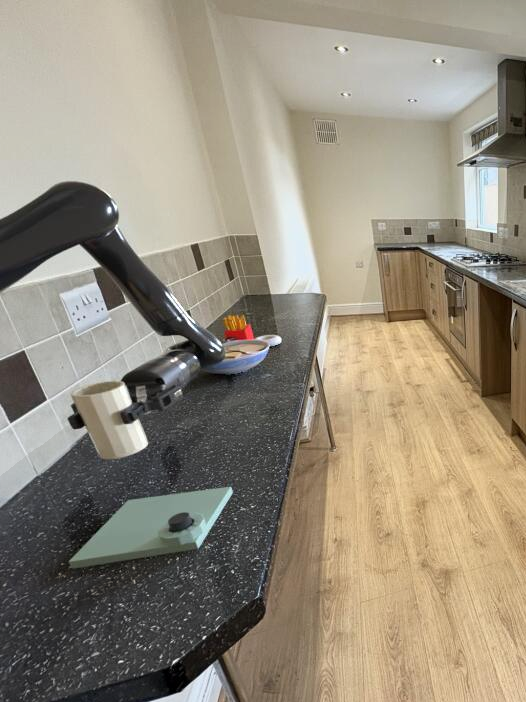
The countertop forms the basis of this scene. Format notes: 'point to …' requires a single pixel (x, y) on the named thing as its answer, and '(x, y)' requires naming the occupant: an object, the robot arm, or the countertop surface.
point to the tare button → (180, 522)
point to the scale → (153, 527)
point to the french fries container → (237, 328)
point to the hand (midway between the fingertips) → (99, 421)
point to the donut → (270, 339)
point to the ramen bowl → (239, 356)
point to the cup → (109, 419)
